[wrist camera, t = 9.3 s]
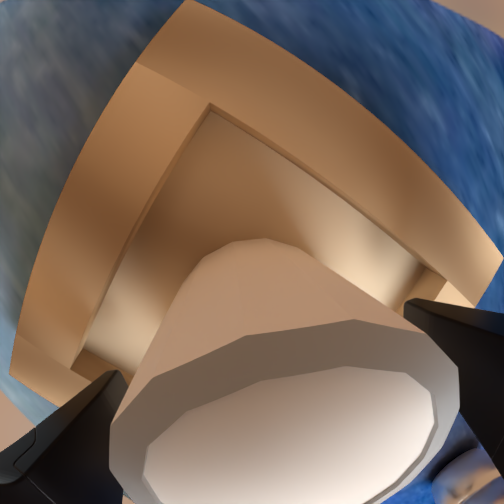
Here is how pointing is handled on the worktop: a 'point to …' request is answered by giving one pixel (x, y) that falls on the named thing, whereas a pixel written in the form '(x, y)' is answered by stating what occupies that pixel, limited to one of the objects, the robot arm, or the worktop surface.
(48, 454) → the robot arm
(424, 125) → the worktop surface
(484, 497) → the plastic bottle
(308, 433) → the white tapered cup
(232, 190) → the holder tray
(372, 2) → the worktop surface
